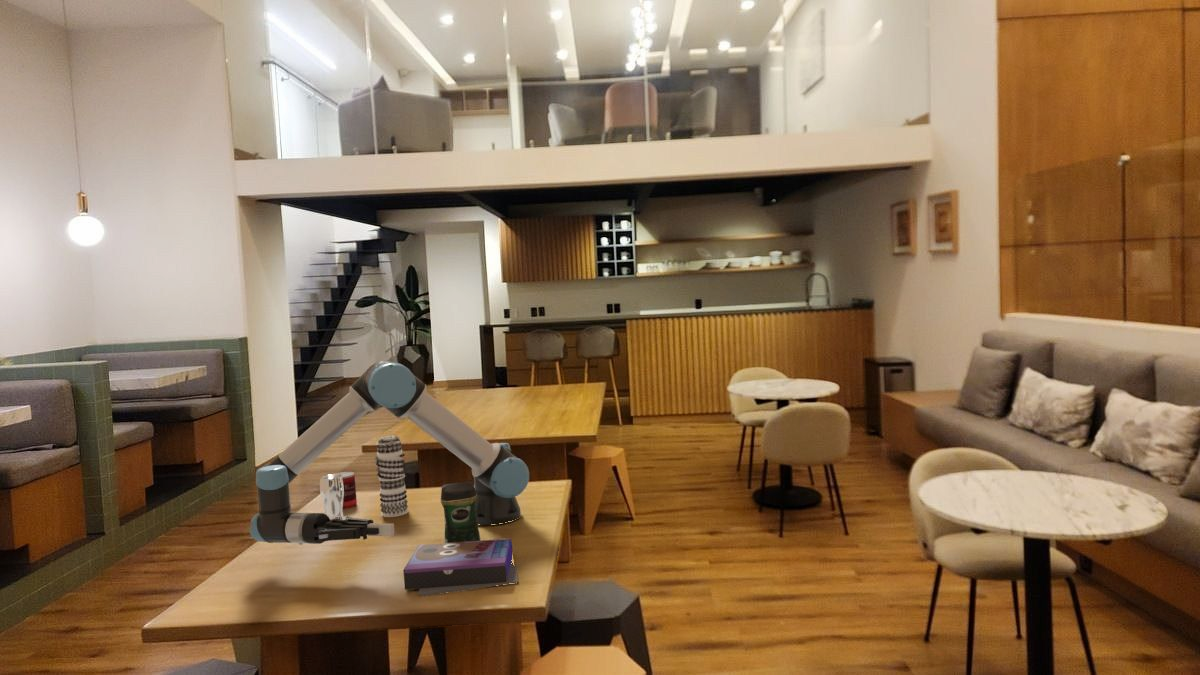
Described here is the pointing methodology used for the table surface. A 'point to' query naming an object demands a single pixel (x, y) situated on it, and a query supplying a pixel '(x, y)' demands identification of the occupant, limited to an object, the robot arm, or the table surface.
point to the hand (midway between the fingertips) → (392, 529)
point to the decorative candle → (391, 477)
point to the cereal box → (459, 564)
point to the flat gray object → (437, 590)
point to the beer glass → (332, 495)
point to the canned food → (349, 489)
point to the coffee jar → (460, 512)
